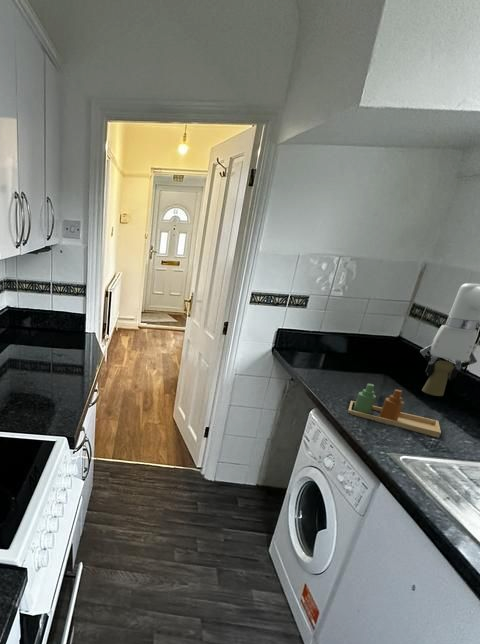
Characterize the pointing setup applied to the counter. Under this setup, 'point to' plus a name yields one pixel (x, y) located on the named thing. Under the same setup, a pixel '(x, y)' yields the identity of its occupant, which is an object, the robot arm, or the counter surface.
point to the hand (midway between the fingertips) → (439, 376)
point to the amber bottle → (392, 406)
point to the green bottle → (365, 400)
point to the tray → (404, 421)
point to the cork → (438, 378)
